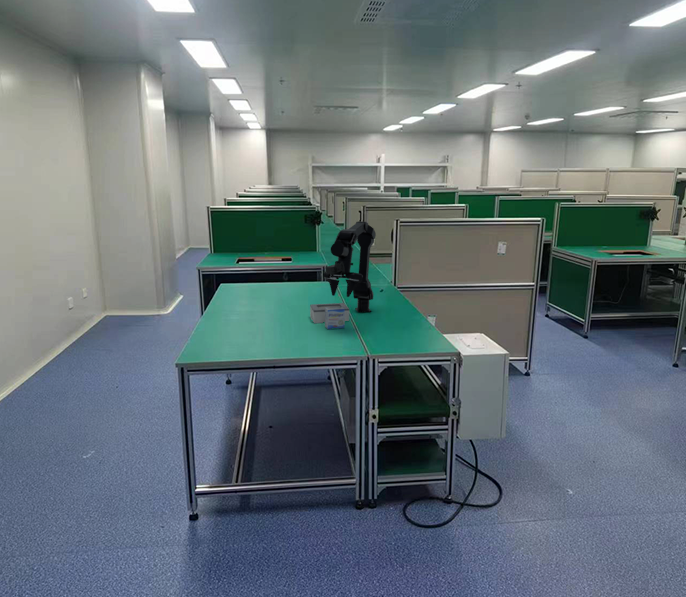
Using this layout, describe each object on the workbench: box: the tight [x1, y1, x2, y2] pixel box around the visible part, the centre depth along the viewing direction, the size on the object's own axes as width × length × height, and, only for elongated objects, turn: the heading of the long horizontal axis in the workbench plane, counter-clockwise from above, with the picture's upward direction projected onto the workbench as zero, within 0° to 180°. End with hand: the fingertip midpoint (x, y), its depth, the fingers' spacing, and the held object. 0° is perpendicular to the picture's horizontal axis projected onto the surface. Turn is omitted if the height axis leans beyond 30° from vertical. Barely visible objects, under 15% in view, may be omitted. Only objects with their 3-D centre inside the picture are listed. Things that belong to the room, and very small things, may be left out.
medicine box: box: [324, 307, 346, 330], centre depth 208 cm, size 8×4×9 cm, turn 105°
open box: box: [309, 302, 350, 324], centre depth 219 cm, size 10×16×6 cm, turn 103°
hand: (340, 296), depth 203 cm, fingers open, 9 cm apart
